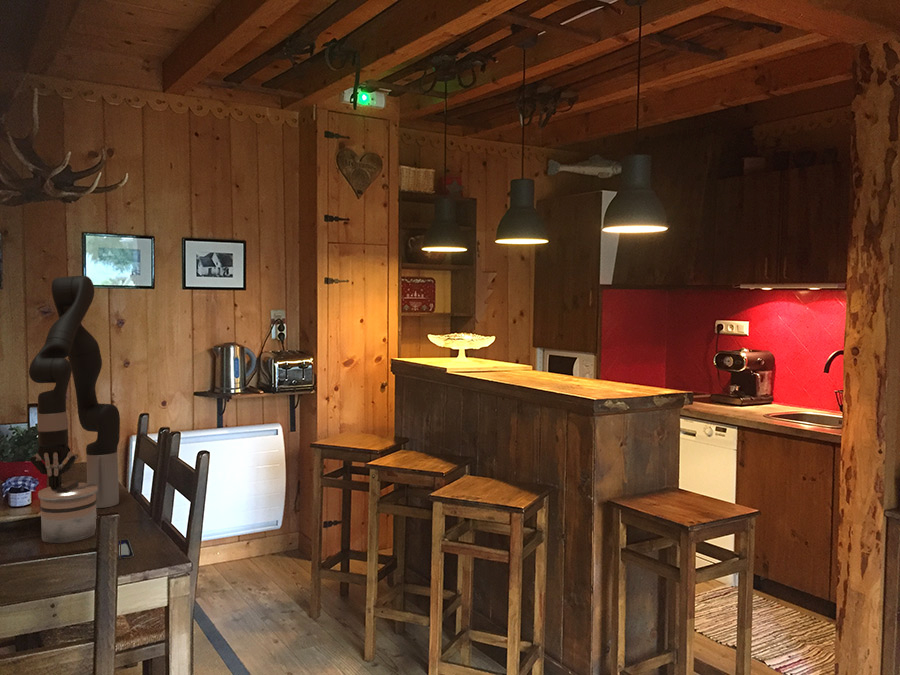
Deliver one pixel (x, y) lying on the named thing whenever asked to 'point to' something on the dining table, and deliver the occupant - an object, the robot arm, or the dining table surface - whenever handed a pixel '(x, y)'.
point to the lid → (68, 491)
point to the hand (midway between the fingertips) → (55, 488)
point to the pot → (68, 519)
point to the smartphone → (125, 549)
